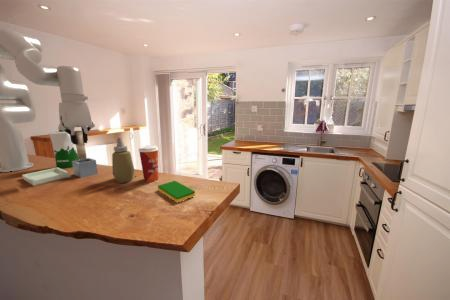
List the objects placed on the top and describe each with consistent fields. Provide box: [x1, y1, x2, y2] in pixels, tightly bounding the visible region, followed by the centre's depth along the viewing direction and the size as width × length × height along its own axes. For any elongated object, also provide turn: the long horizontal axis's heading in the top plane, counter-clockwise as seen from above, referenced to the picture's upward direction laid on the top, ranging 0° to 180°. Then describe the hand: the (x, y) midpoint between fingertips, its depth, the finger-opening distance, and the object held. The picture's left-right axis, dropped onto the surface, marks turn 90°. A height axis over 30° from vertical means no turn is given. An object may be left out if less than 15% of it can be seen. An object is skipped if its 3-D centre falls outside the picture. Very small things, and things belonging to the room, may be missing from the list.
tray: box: [21, 166, 72, 187], centre depth 84 cm, size 14×12×3 cm
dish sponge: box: [157, 180, 196, 203], centre depth 70 cm, size 7×14×2 cm, turn 43°
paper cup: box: [138, 144, 159, 183], centre depth 83 cm, size 8×8×14 cm
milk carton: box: [48, 127, 79, 169], centre depth 99 cm, size 9×9×20 cm
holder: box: [72, 157, 99, 179], centre depth 88 cm, size 7×7×7 cm
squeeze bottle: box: [111, 137, 135, 184], centre depth 81 cm, size 8×8×18 cm
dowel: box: [74, 130, 88, 160], centre depth 86 cm, size 3×3×12 cm
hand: (80, 143), depth 86 cm, fingers closed on dowel, 3 cm apart
